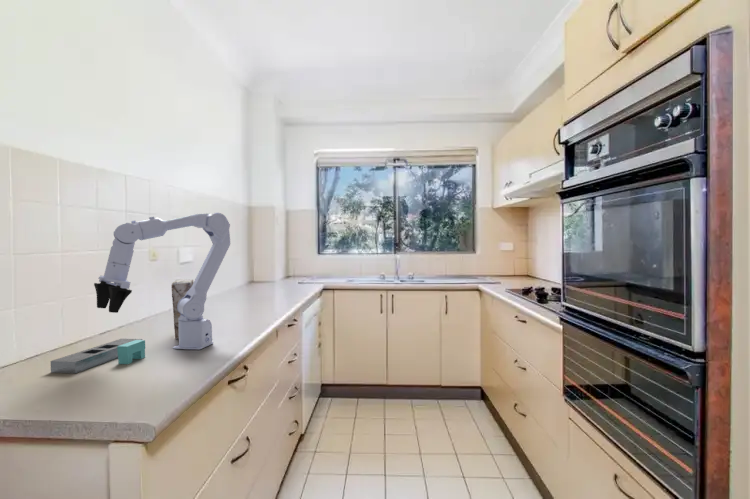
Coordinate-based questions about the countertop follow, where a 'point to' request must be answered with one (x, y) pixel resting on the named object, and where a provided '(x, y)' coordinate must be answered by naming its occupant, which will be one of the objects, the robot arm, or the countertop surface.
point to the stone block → (178, 293)
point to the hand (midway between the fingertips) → (107, 310)
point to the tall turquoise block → (131, 351)
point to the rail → (88, 357)
